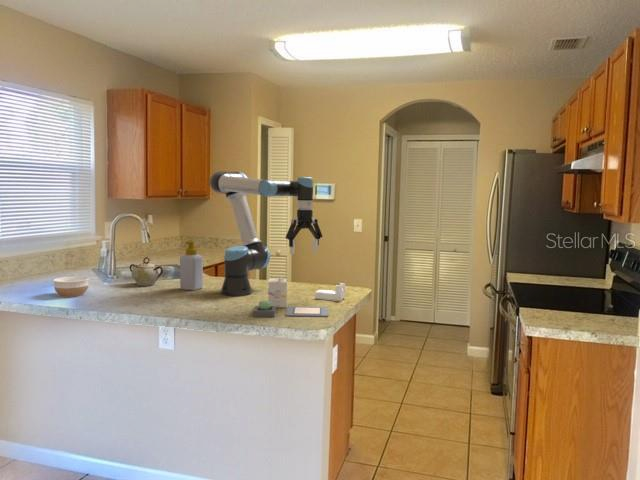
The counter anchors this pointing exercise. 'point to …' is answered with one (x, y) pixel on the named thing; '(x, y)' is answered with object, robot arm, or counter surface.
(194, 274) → the soap bottle
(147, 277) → the sugar bowl
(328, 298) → the bracket
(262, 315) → the button housing
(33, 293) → the counter surface
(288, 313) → the clipboard
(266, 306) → the button
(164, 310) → the counter surface
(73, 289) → the bowl
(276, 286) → the ink box
